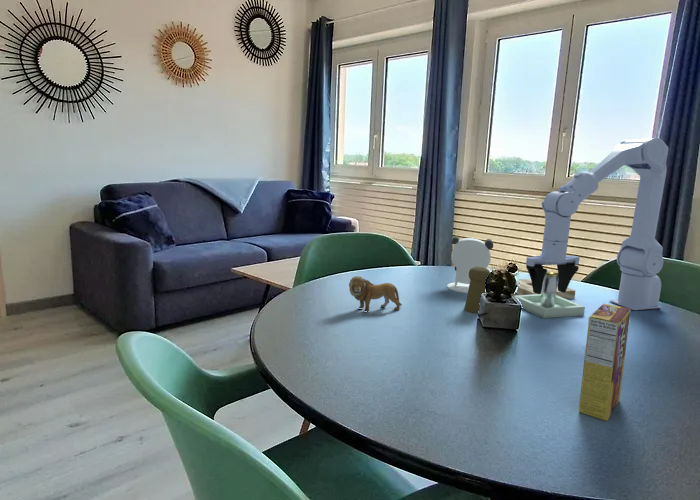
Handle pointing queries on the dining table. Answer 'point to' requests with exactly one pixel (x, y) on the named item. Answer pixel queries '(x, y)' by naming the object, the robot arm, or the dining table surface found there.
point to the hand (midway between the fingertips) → (549, 292)
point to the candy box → (604, 361)
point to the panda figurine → (468, 260)
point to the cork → (475, 288)
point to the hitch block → (527, 289)
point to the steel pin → (549, 289)
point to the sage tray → (560, 309)
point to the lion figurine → (373, 292)
